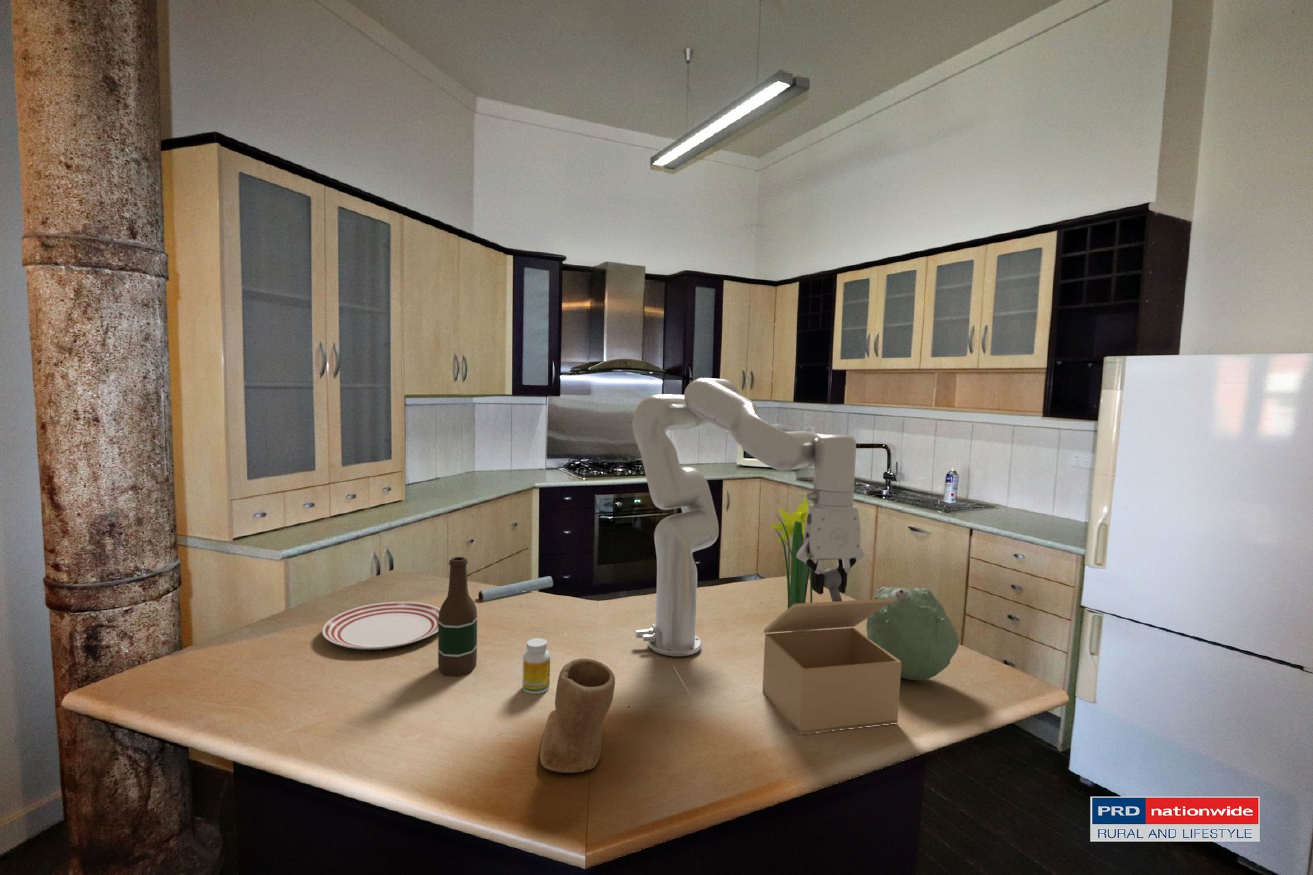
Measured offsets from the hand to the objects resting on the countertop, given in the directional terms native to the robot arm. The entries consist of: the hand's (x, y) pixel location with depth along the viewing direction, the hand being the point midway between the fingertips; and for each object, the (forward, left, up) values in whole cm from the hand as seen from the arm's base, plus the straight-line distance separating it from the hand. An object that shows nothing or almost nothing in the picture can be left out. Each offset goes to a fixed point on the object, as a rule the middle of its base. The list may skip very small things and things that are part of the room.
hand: (828, 590), depth 116 cm
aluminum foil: (-58, +71, -23) cm, 94 cm away
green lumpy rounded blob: (+24, +7, -23) cm, 34 cm away
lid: (0, +6, -11) cm, 12 cm away
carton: (0, -2, -23) cm, 23 cm away
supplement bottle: (-55, +15, -23) cm, 61 cm away
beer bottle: (-71, +26, -23) cm, 79 cm away
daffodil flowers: (+15, +41, -23) cm, 49 cm away
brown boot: (-49, -7, -23) cm, 55 cm away
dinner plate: (-89, +48, -23) cm, 104 cm away
